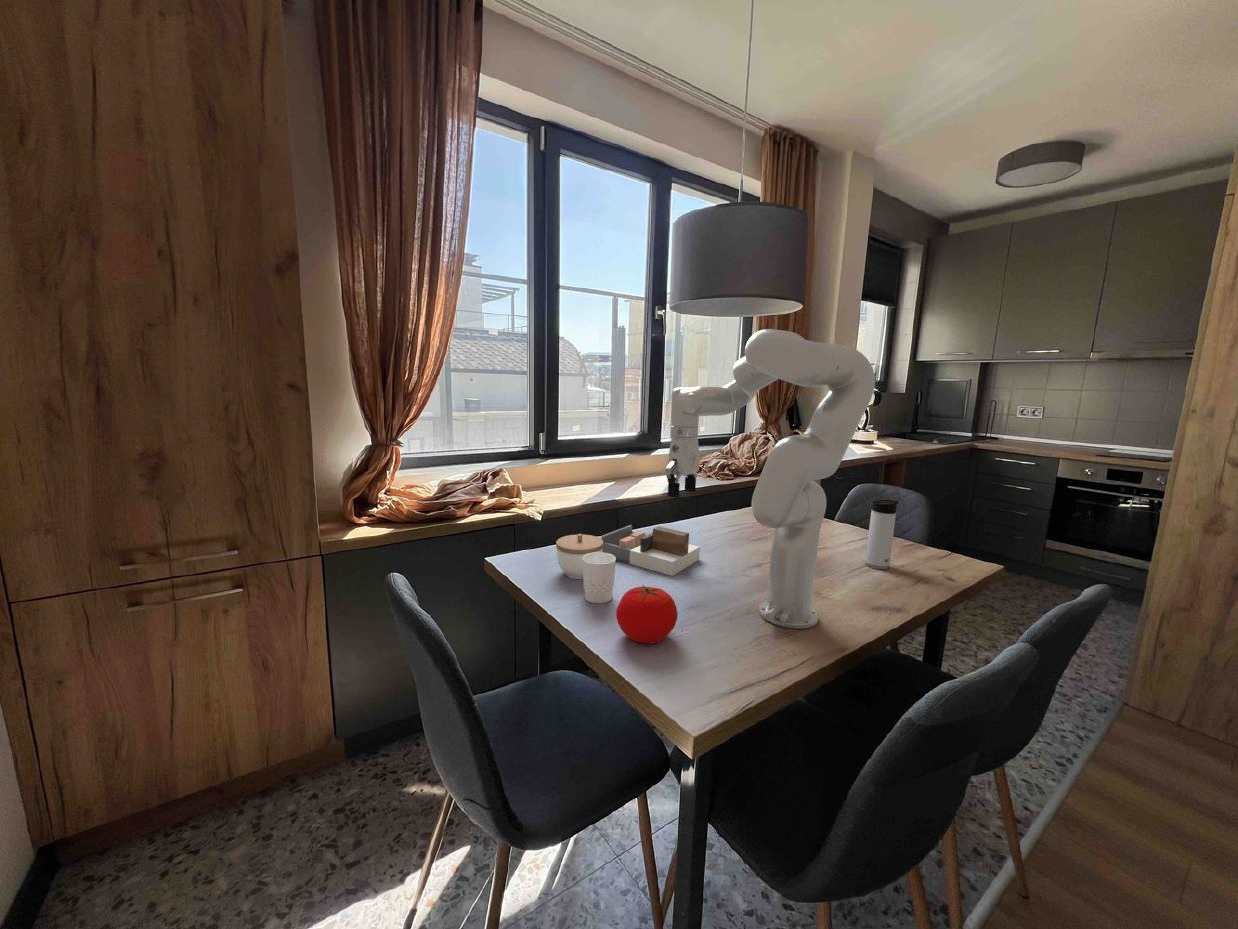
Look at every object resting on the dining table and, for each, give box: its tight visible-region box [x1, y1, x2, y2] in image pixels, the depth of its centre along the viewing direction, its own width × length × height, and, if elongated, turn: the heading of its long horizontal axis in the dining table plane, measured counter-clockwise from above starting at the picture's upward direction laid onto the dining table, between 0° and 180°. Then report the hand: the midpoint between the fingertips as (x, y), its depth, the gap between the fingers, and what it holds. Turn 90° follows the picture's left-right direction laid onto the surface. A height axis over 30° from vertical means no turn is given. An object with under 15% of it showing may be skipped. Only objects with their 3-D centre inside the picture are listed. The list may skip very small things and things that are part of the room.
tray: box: [600, 524, 648, 565], centre depth 147 cm, size 15×10×6 cm
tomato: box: [615, 584, 678, 644], centre depth 98 cm, size 11×12×10 cm
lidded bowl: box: [555, 533, 603, 580], centre depth 129 cm, size 13×13×11 cm
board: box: [629, 543, 701, 577], centre depth 140 cm, size 16×14×4 cm
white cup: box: [582, 552, 617, 604], centre depth 115 cm, size 8×8×10 cm
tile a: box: [619, 536, 636, 549], centre depth 143 cm, size 5×5×2 cm
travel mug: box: [864, 499, 900, 570], centre depth 140 cm, size 6×7×20 cm
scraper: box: [640, 525, 690, 557], centre depth 138 cm, size 12×11×6 cm
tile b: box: [630, 530, 646, 548], centre depth 149 cm, size 5×5×2 cm
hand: (681, 494), depth 135 cm, fingers open, 9 cm apart
